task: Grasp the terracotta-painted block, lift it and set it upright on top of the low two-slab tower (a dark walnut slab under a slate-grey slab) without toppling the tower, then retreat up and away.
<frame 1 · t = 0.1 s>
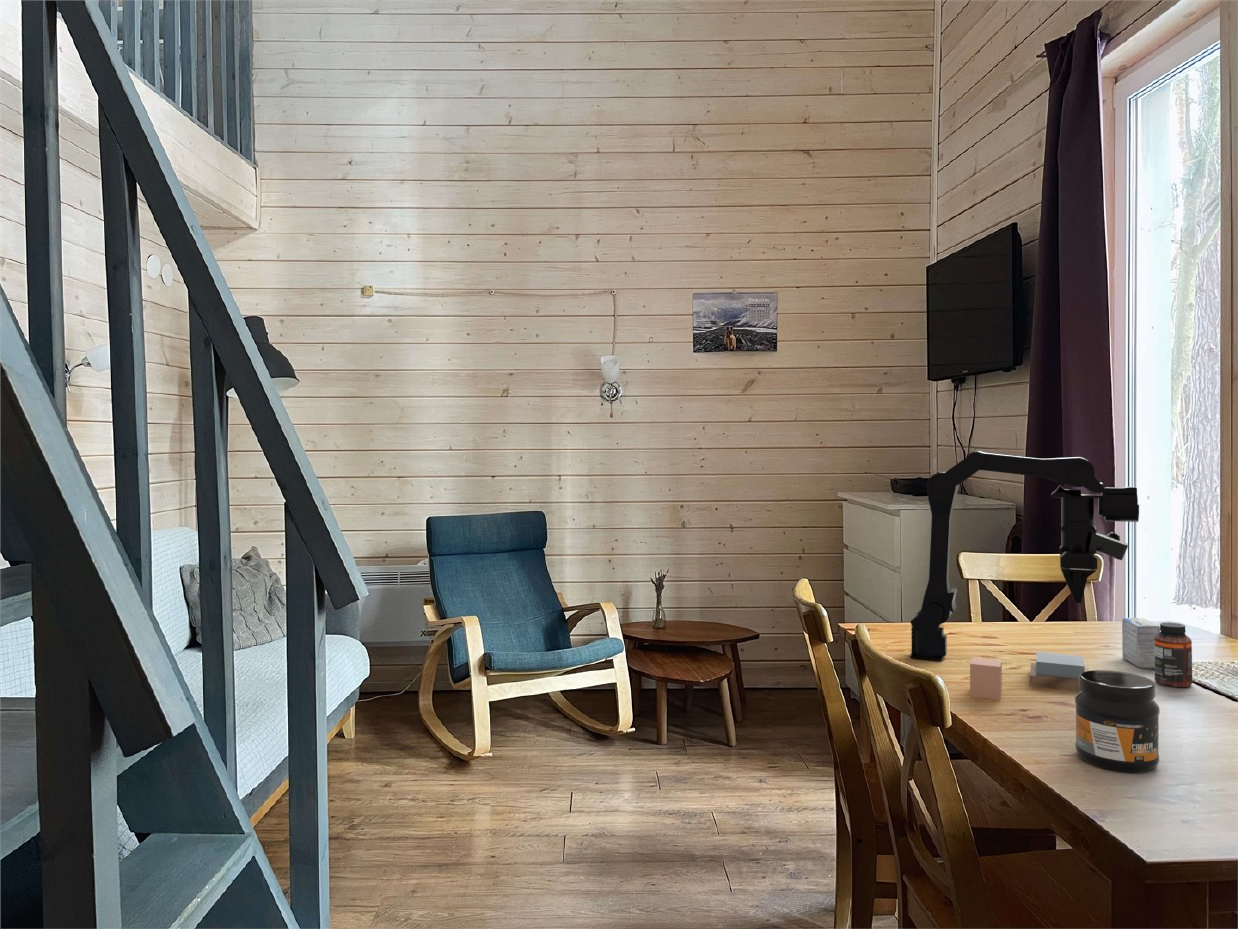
hand: (1077, 598, 165), 15 cm above the table, fingers open, 9 cm apart
slate slab: (1059, 671, 159), point 2 cm above the table, touching walnut slab
terracotta block: (986, 694, 153), on the table
walnut slab: (1059, 684, 159), on the table, touching slate slab
supplement container: (1116, 762, 121), on the table
supplement bottle: (1173, 684, 157), on the table
medicine box: (1141, 664, 171), on the table
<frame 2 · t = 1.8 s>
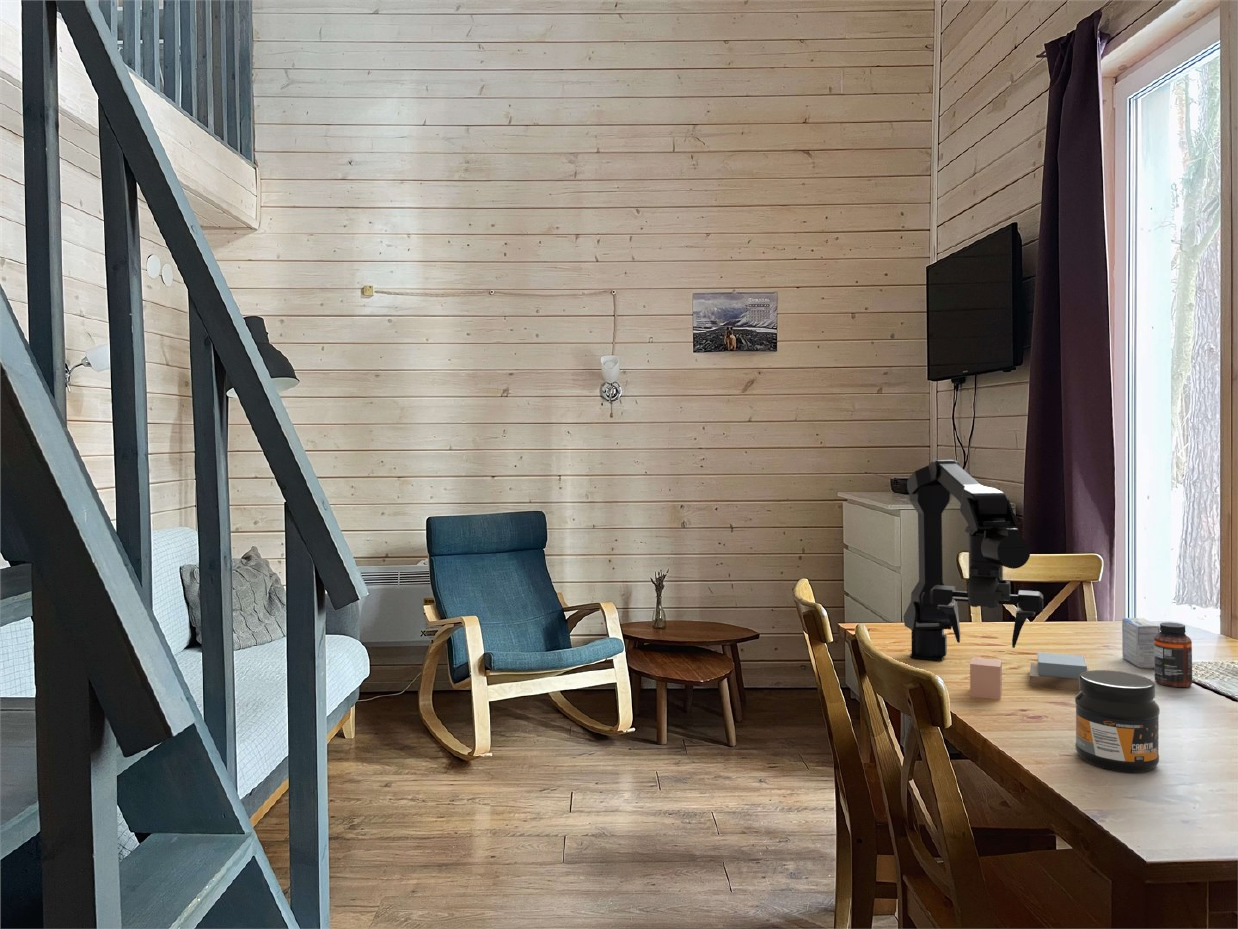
hand: (985, 644, 152), 9 cm above the table, fingers open, 9 cm apart
nothing on the table moved.
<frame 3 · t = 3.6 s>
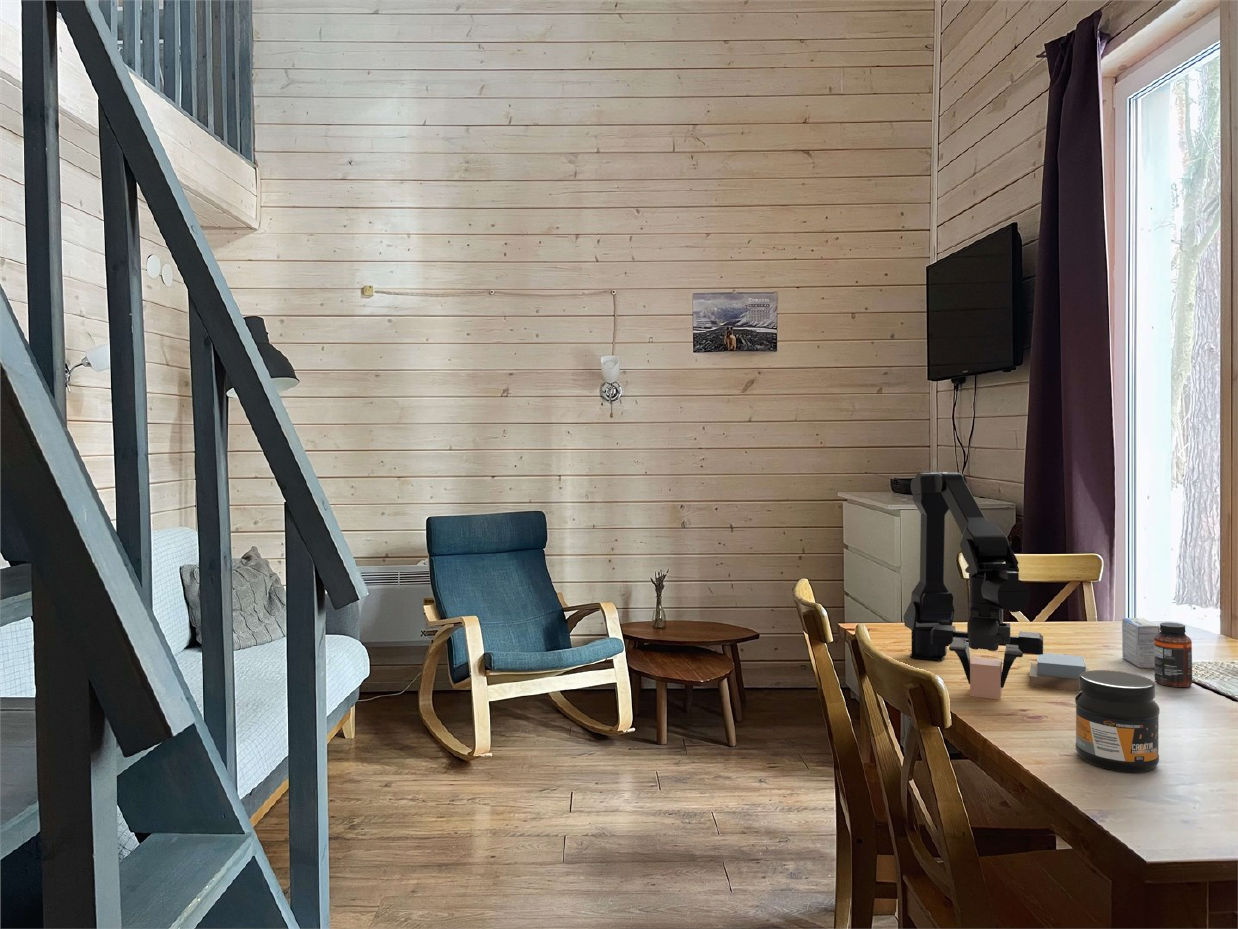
hand: (986, 685, 153), 2 cm above the table, fingers closed on terracotta block, 5 cm apart
terracotta block: (986, 694, 153), on the table, touching gripper
everything else where it was.
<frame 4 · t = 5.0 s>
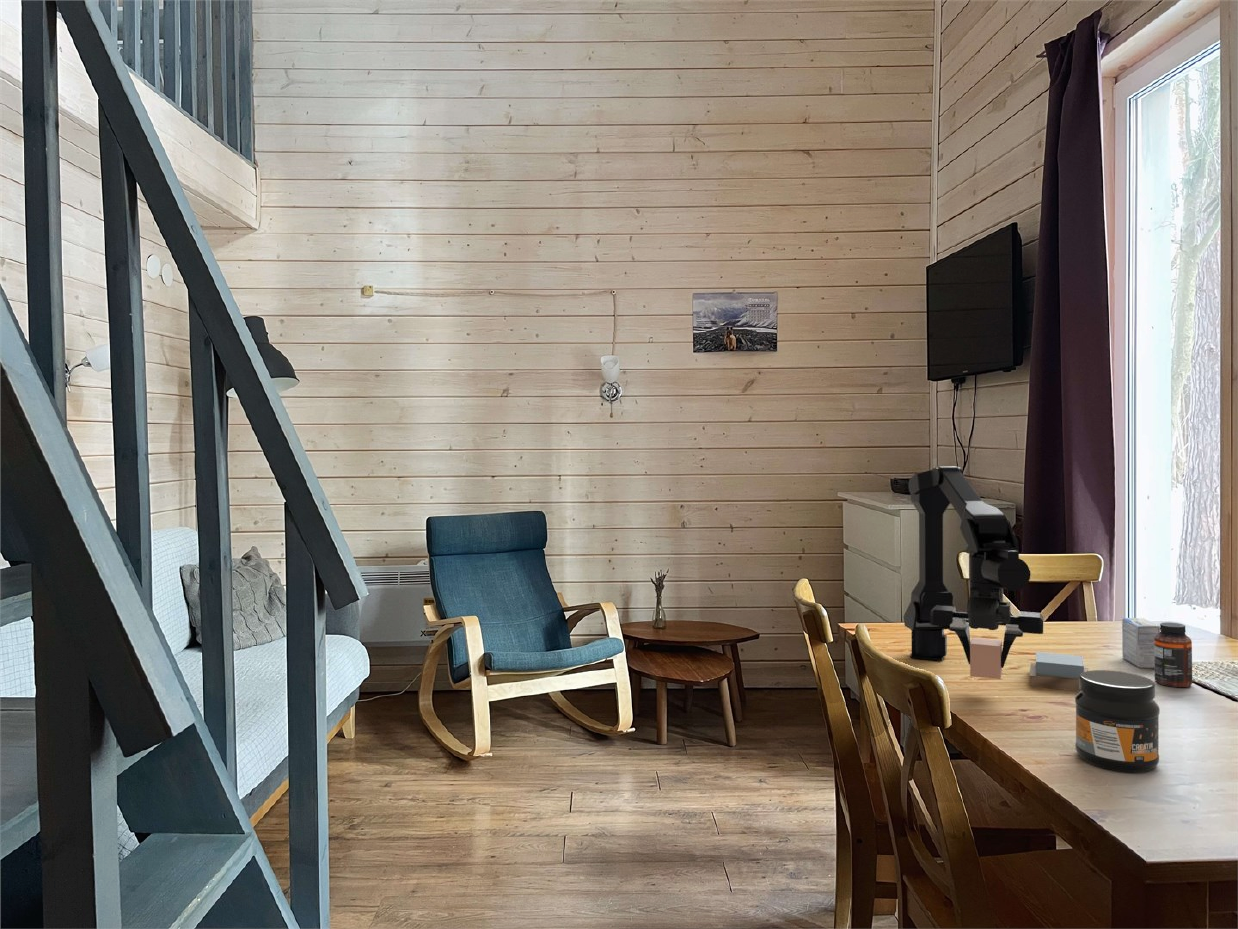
hand: (986, 665, 152), 5 cm above the table, fingers closed on terracotta block, 5 cm apart
terracotta block: (986, 674, 152), point 4 cm above the table, touching gripper
everything else where it was.
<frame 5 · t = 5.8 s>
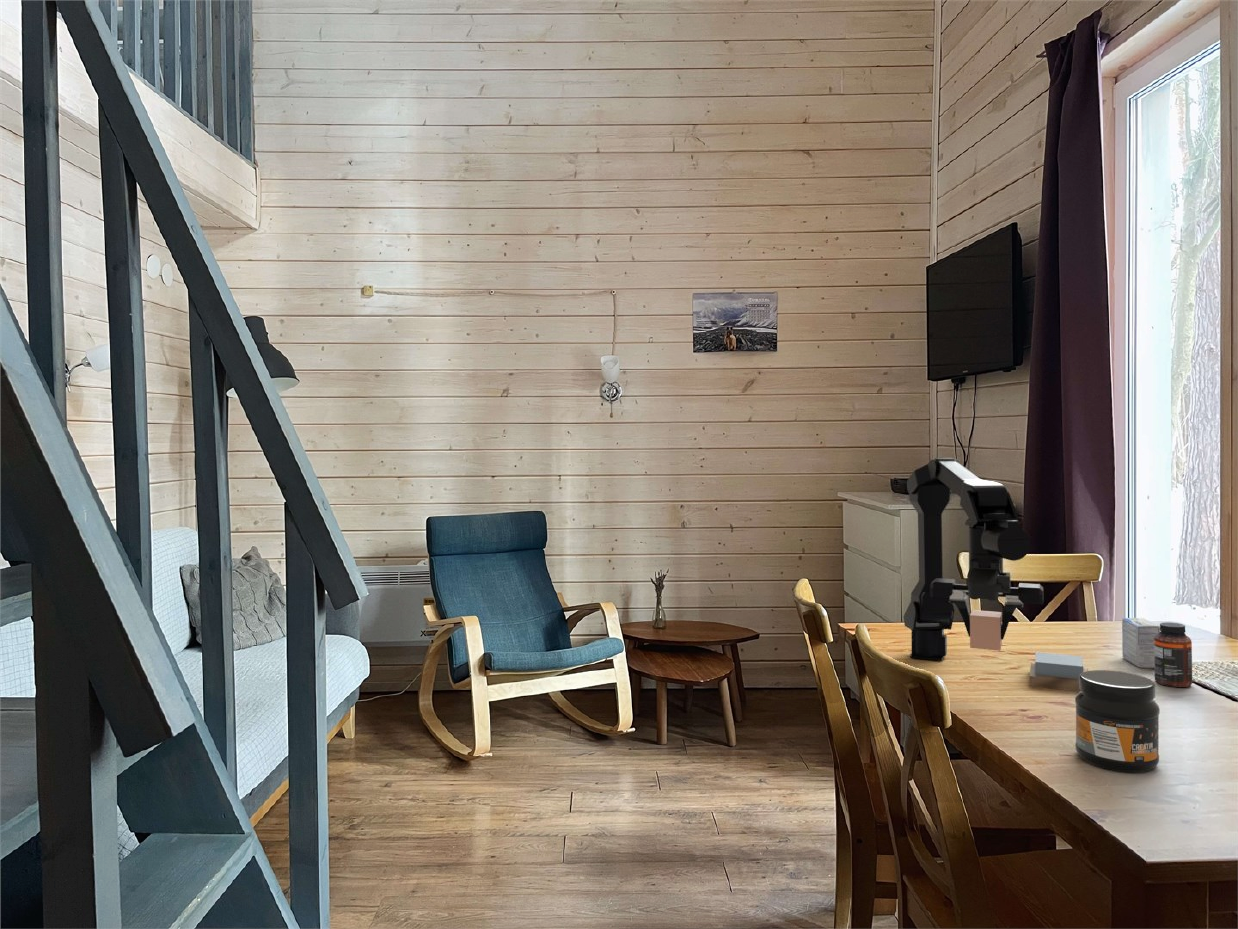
hand: (986, 637, 152), 10 cm above the table, fingers closed on terracotta block, 5 cm apart
terracotta block: (986, 646, 152), point 9 cm above the table, touching gripper
everything else where it was.
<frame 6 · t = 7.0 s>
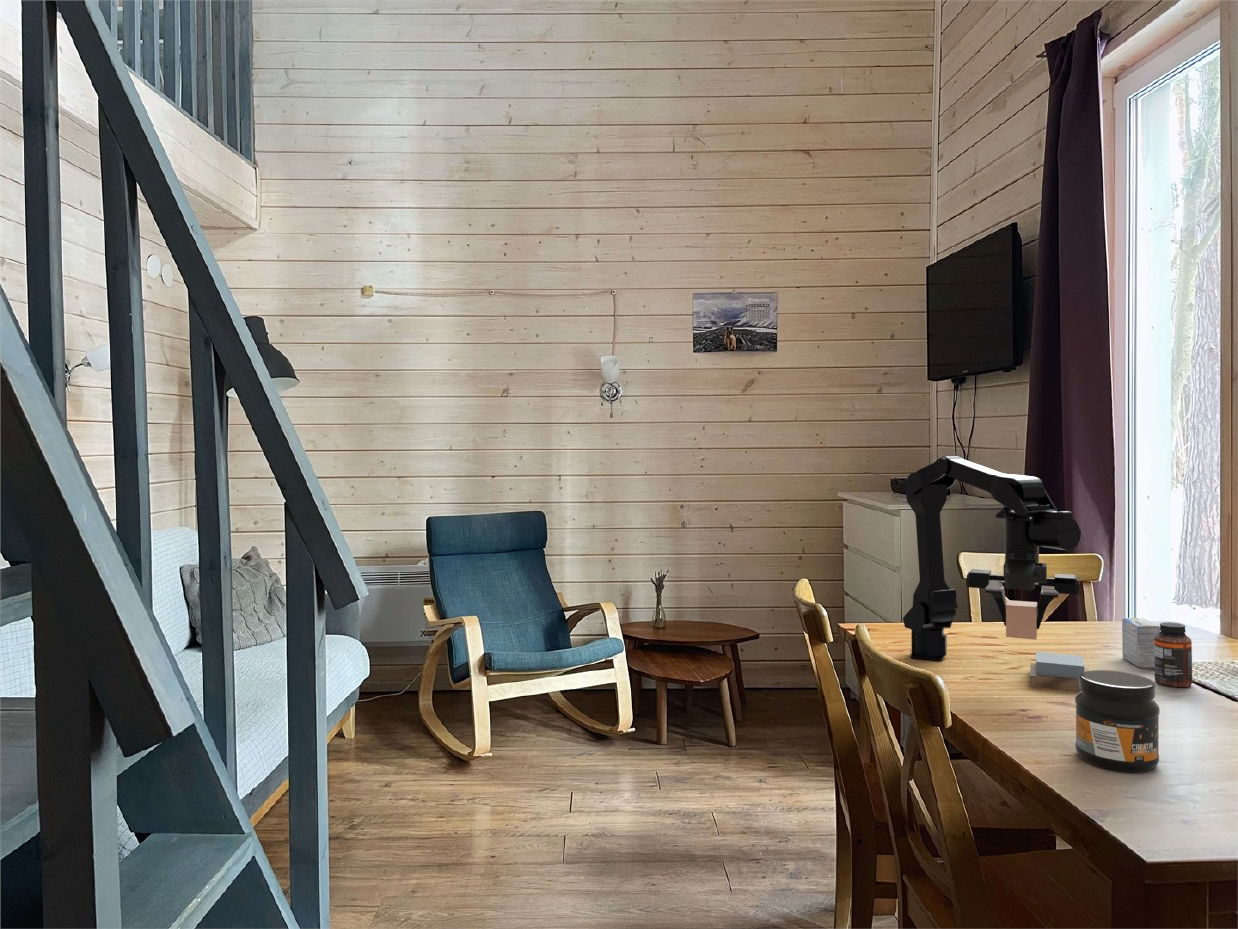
hand: (1021, 627, 155), 11 cm above the table, fingers closed on terracotta block, 5 cm apart
terracotta block: (1021, 635, 155), point 10 cm above the table, touching gripper
everything else where it was.
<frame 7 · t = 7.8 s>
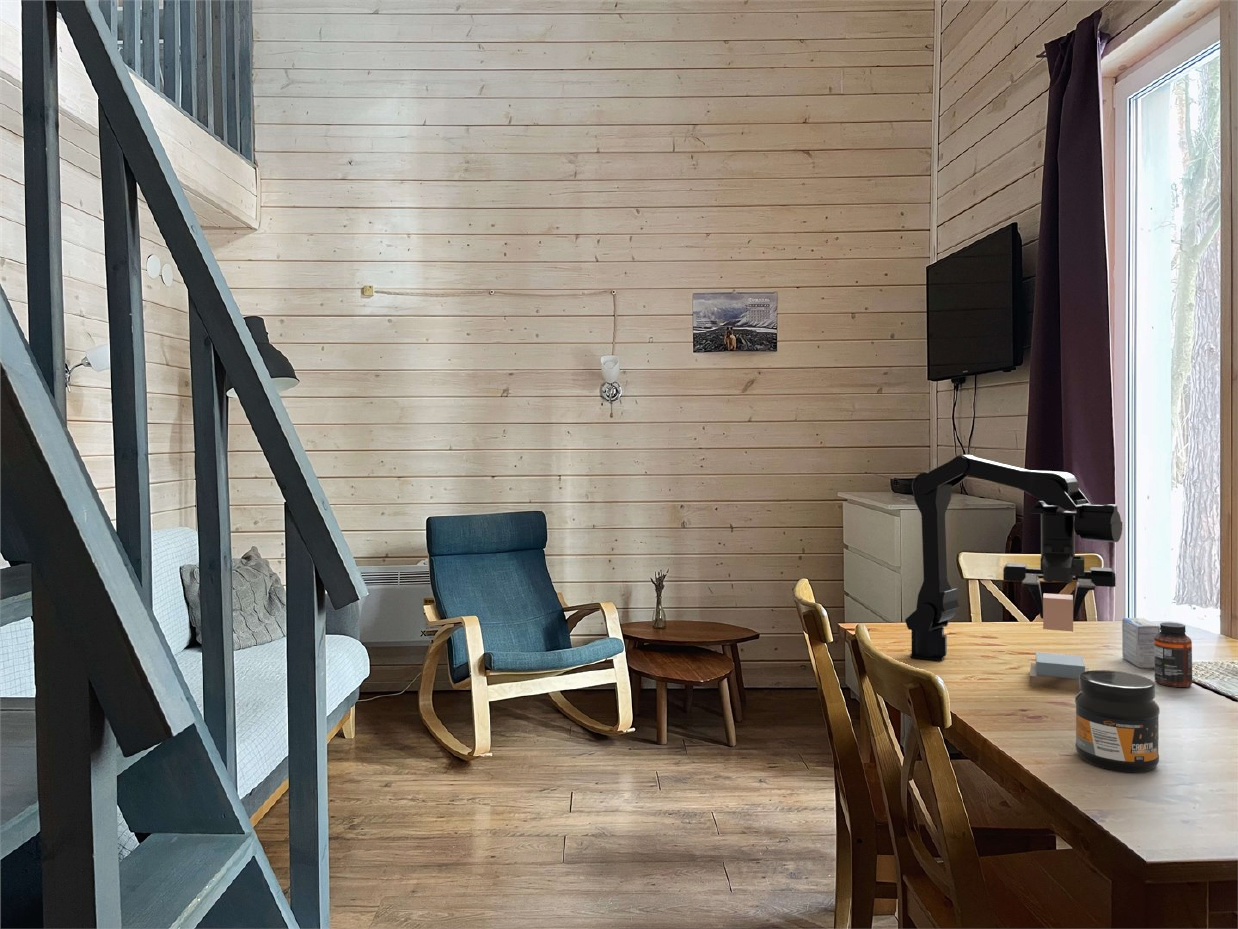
hand: (1058, 619, 159), 12 cm above the table, fingers closed on terracotta block, 5 cm apart
terracotta block: (1058, 627, 159), point 10 cm above the table, touching gripper
everything else where it was.
when the fingers open (7 cm above the table, at t = 9.7 s): terracotta block drops 2 cm, resting on slate slab.
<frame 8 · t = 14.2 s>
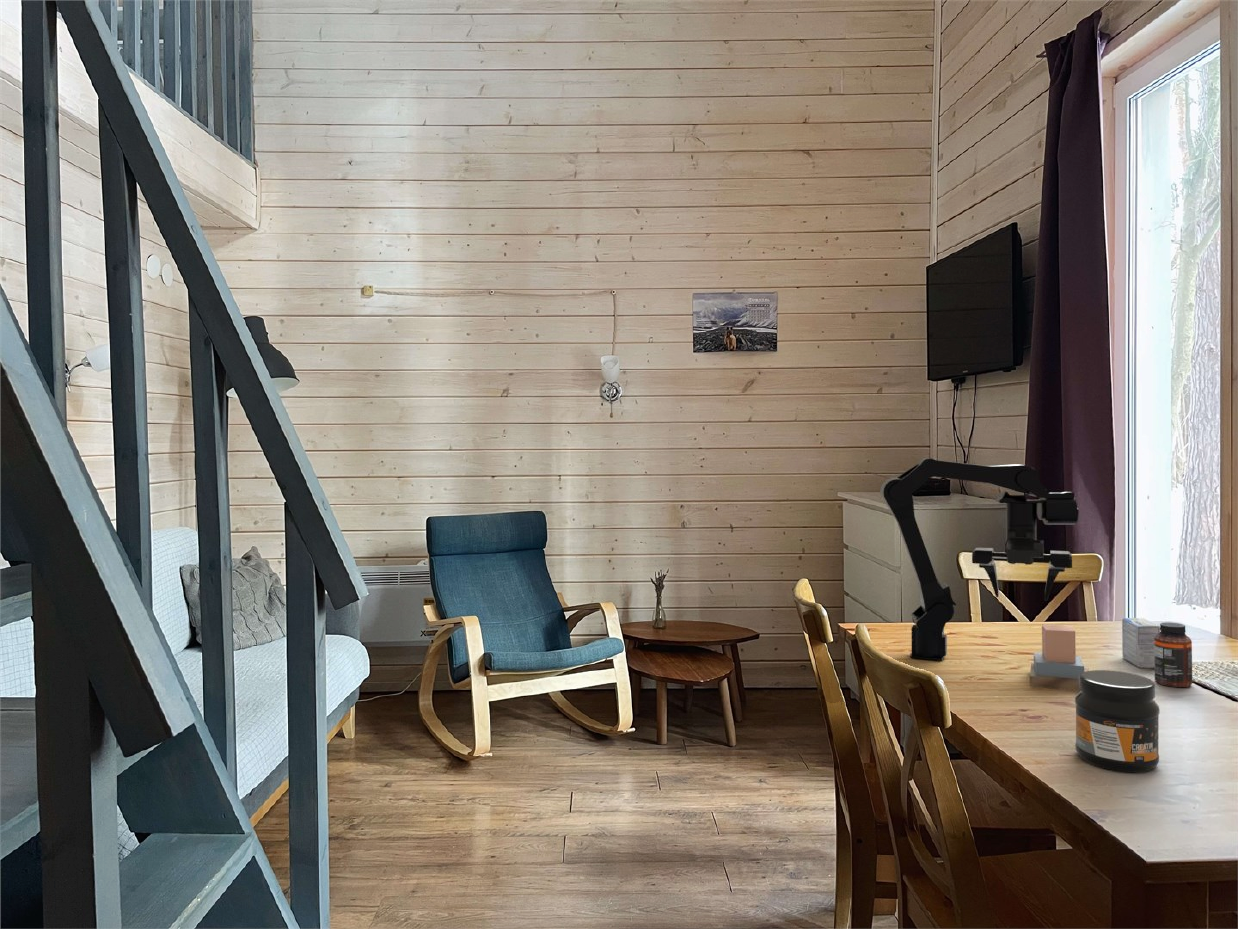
hand: (1021, 598, 175), 13 cm above the table, fingers open, 9 cm apart
slate slab: (1058, 672, 160), point 2 cm above the table, touching terracotta block, walnut slab
terracotta block: (1058, 658, 160), point 4 cm above the table, touching slate slab
everything else where it was.
at the end: terracotta block 0.2 cm off-centre on the slate slab, point 2.5 cm above the slate slab's base; slate slab point 1.7 cm above the table; terracotta block tilted 0° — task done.
